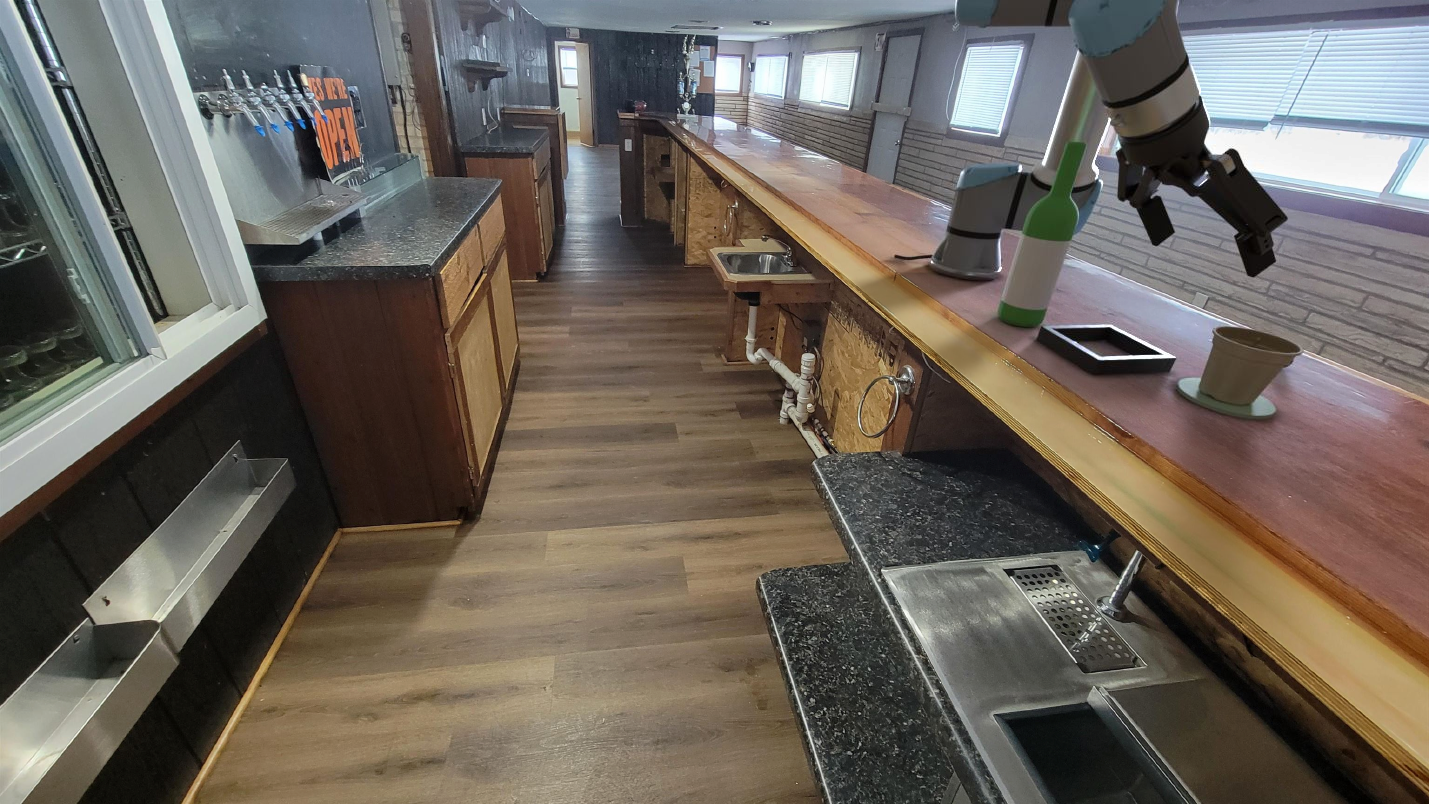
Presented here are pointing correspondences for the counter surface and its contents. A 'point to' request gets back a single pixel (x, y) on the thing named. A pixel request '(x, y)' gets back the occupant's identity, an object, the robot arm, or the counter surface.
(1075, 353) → the holder
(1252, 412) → the coaster
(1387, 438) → the counter surface
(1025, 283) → the wine bottle
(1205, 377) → the flower pot
